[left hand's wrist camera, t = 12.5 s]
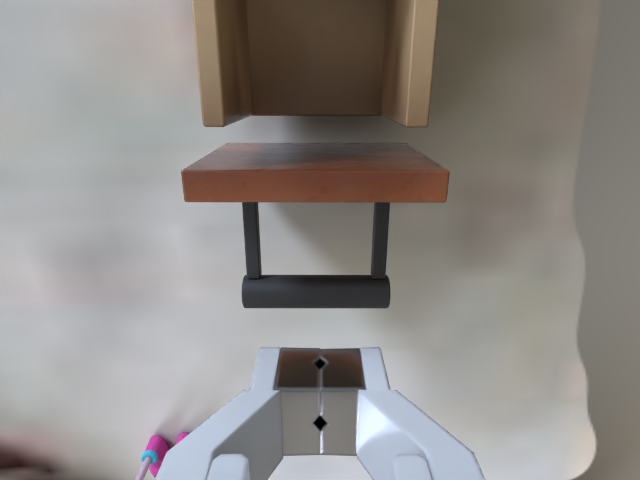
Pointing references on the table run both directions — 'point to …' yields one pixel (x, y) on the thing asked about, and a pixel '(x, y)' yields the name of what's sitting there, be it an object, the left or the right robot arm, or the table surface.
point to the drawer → (315, 100)
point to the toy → (155, 455)
